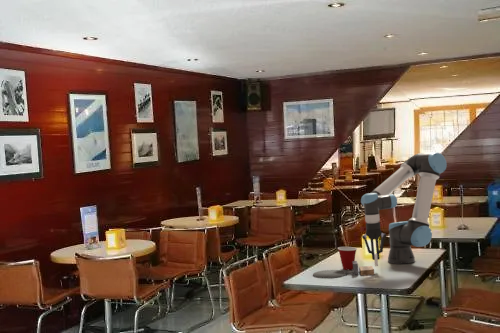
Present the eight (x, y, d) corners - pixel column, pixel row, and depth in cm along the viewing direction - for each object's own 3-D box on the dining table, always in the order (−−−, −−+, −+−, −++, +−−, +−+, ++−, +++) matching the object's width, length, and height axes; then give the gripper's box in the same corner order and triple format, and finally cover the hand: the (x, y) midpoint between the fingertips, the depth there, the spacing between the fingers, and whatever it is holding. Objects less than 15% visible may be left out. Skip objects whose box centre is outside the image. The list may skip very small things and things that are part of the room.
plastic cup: (358, 270, 309) (356, 248, 309) (338, 271, 311) (337, 249, 311) (358, 266, 320) (357, 245, 320) (339, 267, 322) (338, 246, 322)
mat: (345, 270, 312) (345, 269, 312) (347, 277, 294) (347, 276, 294) (313, 271, 314) (313, 270, 314) (312, 278, 296) (312, 277, 296)
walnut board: (372, 271, 306) (372, 266, 306) (374, 275, 296) (374, 269, 296) (359, 272, 307) (359, 266, 307) (361, 276, 297) (360, 270, 297)
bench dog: (357, 271, 306) (356, 260, 306) (358, 274, 298) (357, 263, 298) (353, 271, 306) (352, 261, 306) (353, 275, 298) (353, 263, 298)
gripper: (384, 220, 304) (388, 263, 304) (360, 222, 305) (363, 265, 306) (385, 222, 296) (389, 266, 297) (360, 223, 298) (364, 267, 298)
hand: (376, 265), depth 301 cm, fingers closed
